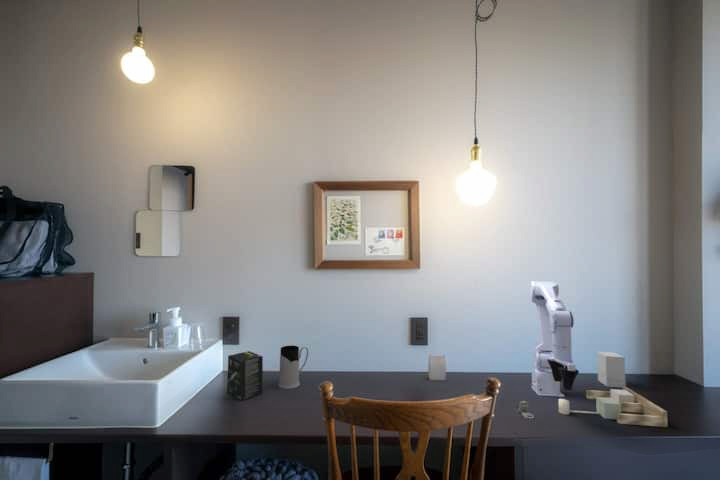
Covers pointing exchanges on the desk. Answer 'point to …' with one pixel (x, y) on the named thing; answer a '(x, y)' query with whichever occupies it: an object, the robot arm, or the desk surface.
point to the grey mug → (290, 366)
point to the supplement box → (611, 369)
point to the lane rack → (635, 409)
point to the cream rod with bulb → (603, 406)
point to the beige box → (436, 367)
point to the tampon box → (245, 375)
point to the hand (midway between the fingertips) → (562, 385)
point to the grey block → (622, 396)
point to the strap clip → (524, 410)
